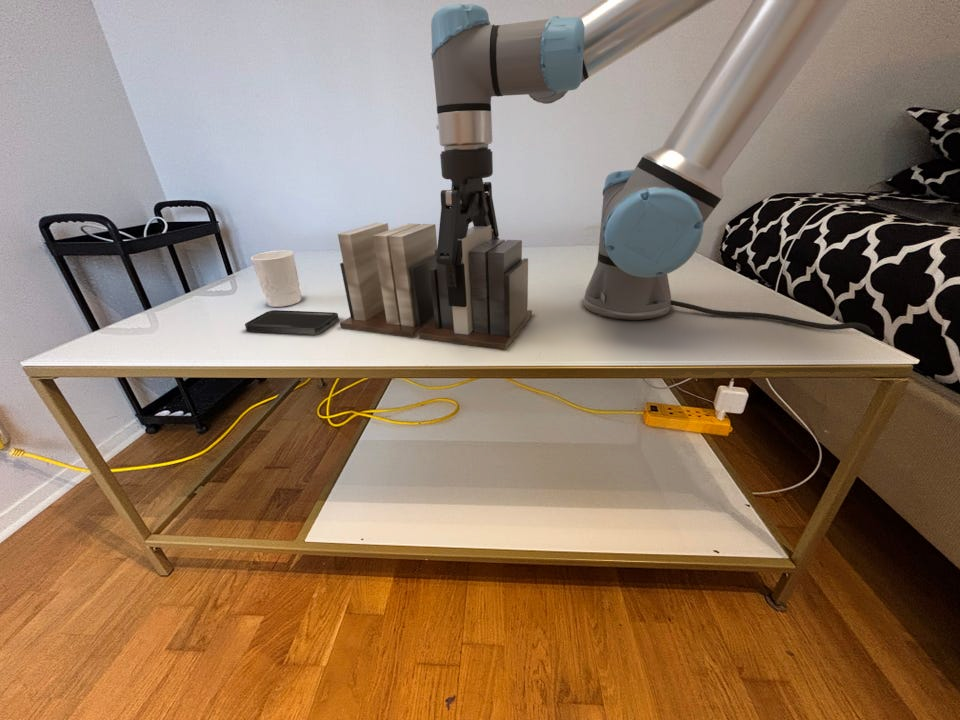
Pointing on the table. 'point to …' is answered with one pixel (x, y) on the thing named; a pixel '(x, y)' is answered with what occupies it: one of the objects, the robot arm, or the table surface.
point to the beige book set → (389, 278)
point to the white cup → (278, 277)
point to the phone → (292, 322)
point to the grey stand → (485, 297)
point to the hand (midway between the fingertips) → (473, 293)
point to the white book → (469, 278)
